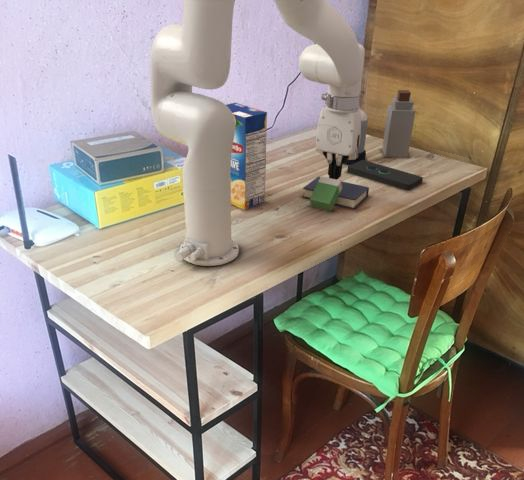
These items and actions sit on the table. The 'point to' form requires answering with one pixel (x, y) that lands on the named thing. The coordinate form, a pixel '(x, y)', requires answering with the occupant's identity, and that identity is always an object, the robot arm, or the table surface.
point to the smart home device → (385, 174)
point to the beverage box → (248, 156)
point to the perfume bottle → (399, 126)
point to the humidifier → (361, 137)
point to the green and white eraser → (326, 193)
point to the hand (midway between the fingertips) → (334, 178)
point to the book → (342, 194)
